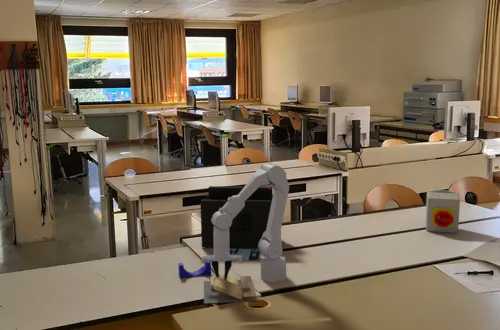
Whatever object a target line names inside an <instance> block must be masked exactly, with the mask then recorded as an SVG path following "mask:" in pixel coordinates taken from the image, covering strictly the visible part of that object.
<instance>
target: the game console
mask: <svg viewBox="0 0 500 330" xmlns="http://www.w3.org/2000/svg"><path fill="white" fill-rule="evenodd" d="M244 187H245V185H244V186H243V185H242V186H234V185H232V186H230V185H229V186H227V185H226V186H223V185H222V186H215V185H213V186H211V185H210V186H209V187H208V189H207V192H208V193H205V194H204V198H203V199H201V200H200V228H201V232H200V233H201V248H202V247H205V248H204V249H214V235H213V233H214V225H213V224H212V222H211V219H212V216H213V214H214V213H216V212H218V211H219V209H220V208H223V206H224V205H225V204H226V203H227V202H228V198H229V197H232V196H234V195H238V194H239V193H240V192H241V190H242V189H243V188H244ZM272 198H273V187H272V186H264V185H261V186H259V187H258V188H257V189H256V190H255V191H254V192H253V193H252V194H251V195H250V196H249V197H248V198H247V199H246V200H245V206H244V208H243V209H242V210H241V211H240V212H239V213H238V214H237V215H236V216H235V218H234V219H233V220H232V224H231V226H230V227H229V249H230V255H242V261H257V260H259V261H261V251H260V250H259V248H258V243H259V241H260V240H261V238H262V235H263V233H264V232H265V231H266V228H267V223H268V218H269V213H270V208H271V203H272ZM281 234H282V231H281V232H280V235H281ZM281 236H282V235H281Z"/></svg>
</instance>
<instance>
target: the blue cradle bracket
mask: <svg viewBox="0 0 500 330" xmlns="http://www.w3.org/2000/svg"><path fill="white" fill-rule="evenodd" d="M207 275H209V276H210V275H211V276H212V262H205V263H204V265H203V266H201V268H199V269H197V270H193V272H190V271H188V270H187V269H185V267H184V264H183V262H179V263H178V277H179V279H182V278H183V277H185V279H186V278H187V279H188V278H193V277H194V278H197V277H206V276H207Z"/></svg>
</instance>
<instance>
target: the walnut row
mask: <svg viewBox="0 0 500 330" xmlns="http://www.w3.org/2000/svg"><path fill="white" fill-rule="evenodd" d="M239 280H240V282H241V288H242V293H243V298H244V301H243V302H249V301H248V300H256V297H257V294H256V295H255V293H256V290H255V291H254V289H255V287H253V285H254V282H253V283H252V281H253V279H252V276H251V275H248V276H247V275H245V276H239Z"/></svg>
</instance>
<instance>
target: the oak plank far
mask: <svg viewBox="0 0 500 330" xmlns="http://www.w3.org/2000/svg"><path fill="white" fill-rule="evenodd" d="M215 276H216V275H214V276H212V275H211V276H210V281H211V289H214V278H215ZM219 278H221V279H223V280H224V276H220V275H219ZM238 280H239V277H238V276H230V275H229V276H227V281H229V282H231V283H234V284H236V285H239V282H238Z"/></svg>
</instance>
